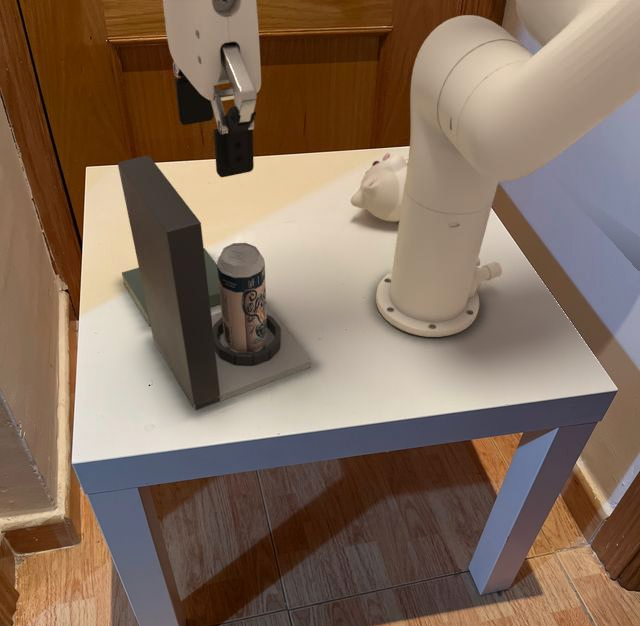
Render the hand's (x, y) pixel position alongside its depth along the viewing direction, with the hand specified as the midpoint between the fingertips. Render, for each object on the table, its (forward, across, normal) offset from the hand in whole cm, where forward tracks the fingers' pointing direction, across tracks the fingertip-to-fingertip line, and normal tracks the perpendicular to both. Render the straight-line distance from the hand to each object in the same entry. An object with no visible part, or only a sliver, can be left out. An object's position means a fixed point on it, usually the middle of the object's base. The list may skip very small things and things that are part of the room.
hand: (215, 146), depth 62 cm
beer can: (+22, -2, -1) cm, 23 cm away
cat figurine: (+23, +14, -31) cm, 42 cm away
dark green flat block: (+23, +10, +2) cm, 26 cm away
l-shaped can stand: (+23, -2, +1) cm, 24 cm away
